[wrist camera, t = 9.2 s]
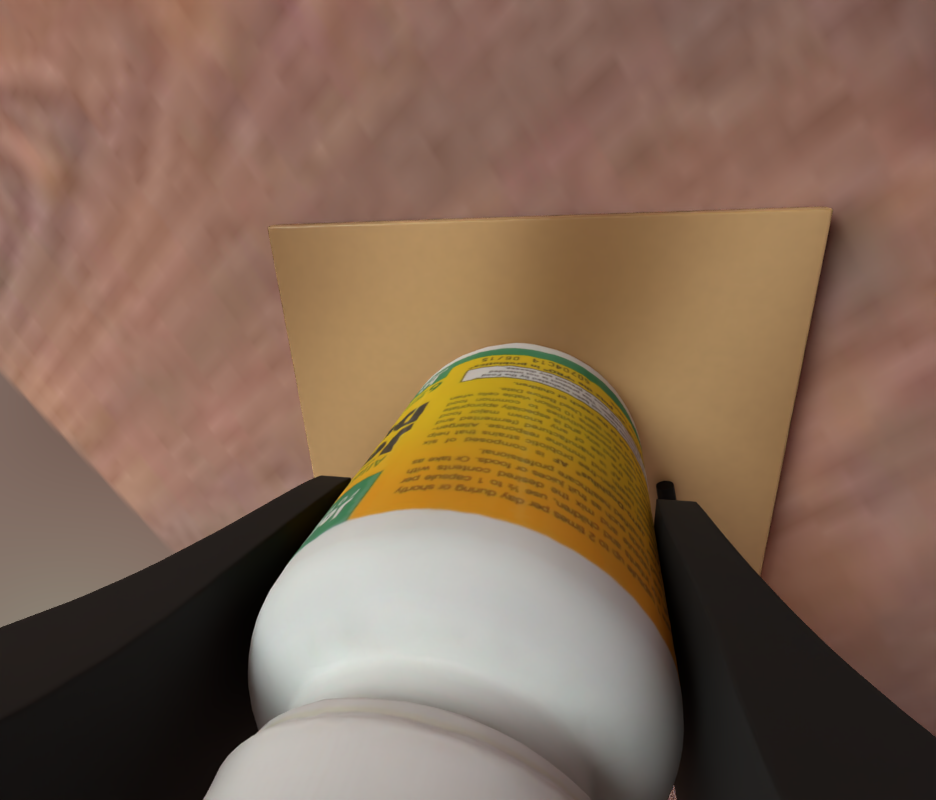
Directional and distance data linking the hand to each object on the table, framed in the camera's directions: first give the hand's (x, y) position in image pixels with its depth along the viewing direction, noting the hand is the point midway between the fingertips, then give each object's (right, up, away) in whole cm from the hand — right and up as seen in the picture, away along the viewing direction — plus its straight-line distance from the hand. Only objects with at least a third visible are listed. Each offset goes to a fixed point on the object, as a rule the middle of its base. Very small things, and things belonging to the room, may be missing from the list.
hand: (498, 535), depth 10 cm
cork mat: (+1, +1, +3) cm, 4 cm away
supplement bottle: (+1, +1, +3) cm, 4 cm away
